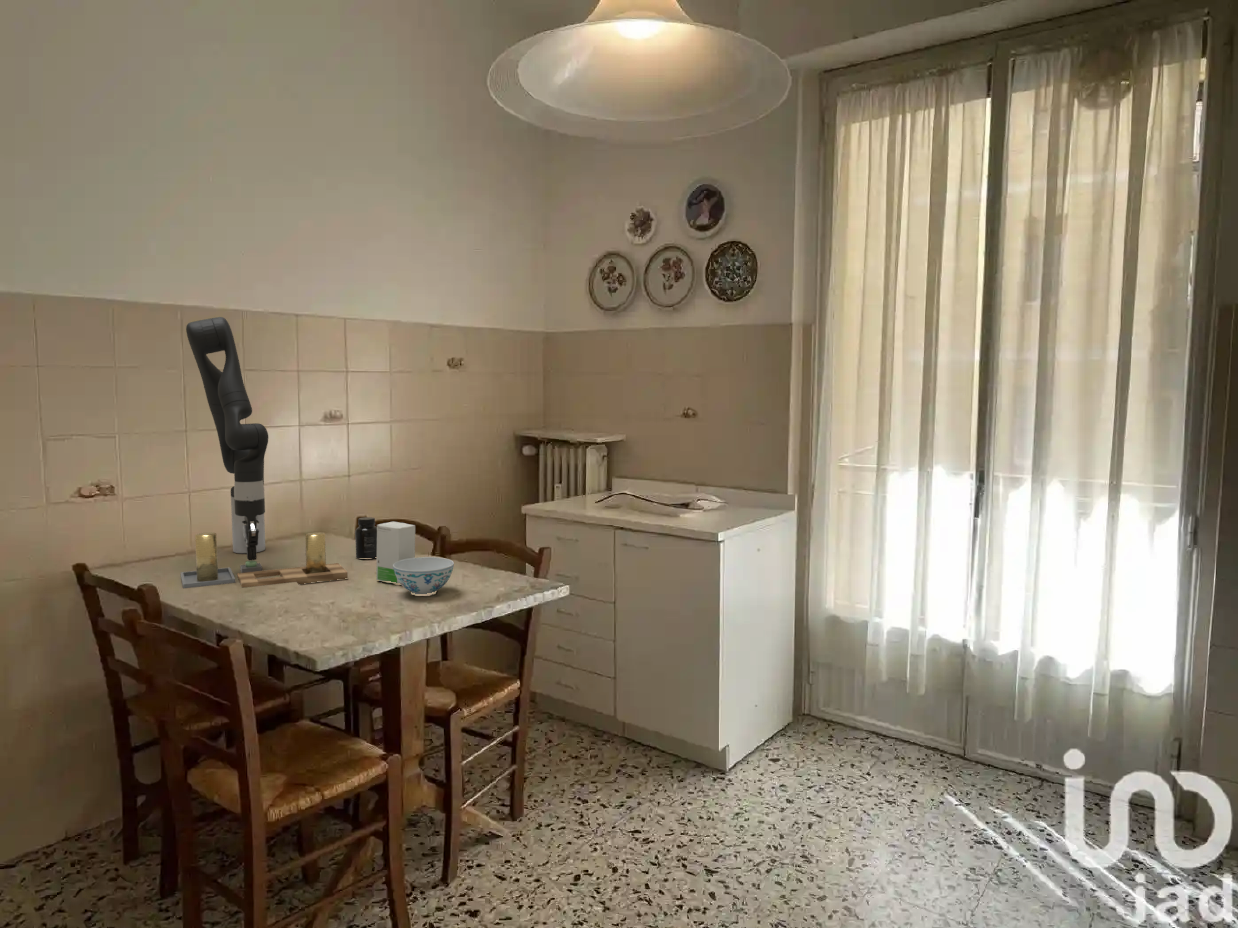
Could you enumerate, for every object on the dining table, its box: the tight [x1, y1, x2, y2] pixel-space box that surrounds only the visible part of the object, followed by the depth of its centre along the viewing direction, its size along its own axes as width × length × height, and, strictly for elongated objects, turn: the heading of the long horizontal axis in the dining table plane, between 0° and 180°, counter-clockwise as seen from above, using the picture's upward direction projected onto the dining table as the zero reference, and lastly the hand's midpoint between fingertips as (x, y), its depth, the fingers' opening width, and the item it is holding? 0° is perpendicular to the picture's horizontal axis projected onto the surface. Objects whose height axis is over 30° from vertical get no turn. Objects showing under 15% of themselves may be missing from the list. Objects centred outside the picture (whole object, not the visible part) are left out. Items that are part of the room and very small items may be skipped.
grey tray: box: [180, 567, 236, 589], centre depth 216 cm, size 14×12×2 cm
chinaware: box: [393, 556, 455, 594], centre depth 208 cm, size 15×15×8 cm
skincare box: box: [375, 521, 416, 583], centre depth 219 cm, size 8×7×16 cm
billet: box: [194, 532, 219, 582], centre depth 215 cm, size 5×5×12 cm
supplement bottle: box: [354, 516, 377, 559], centre depth 247 cm, size 7×7×12 cm
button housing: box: [239, 562, 263, 573], centre depth 225 cm, size 5×5×2 cm
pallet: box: [236, 562, 349, 588], centre depth 220 cm, size 12×26×2 cm, turn 120°
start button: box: [244, 560, 258, 567], centre depth 224 cm, size 3×3×1 cm
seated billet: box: [304, 531, 327, 574], centre depth 222 cm, size 5×5×12 cm
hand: (251, 559), depth 224 cm, fingers closed
